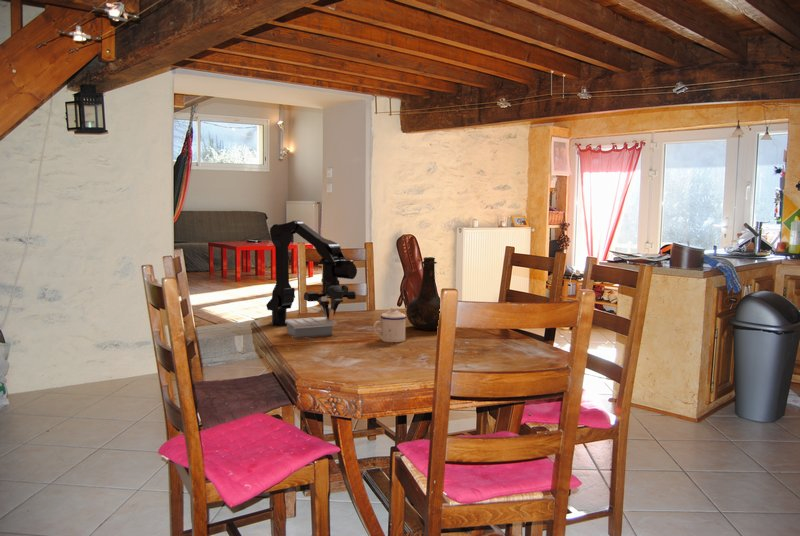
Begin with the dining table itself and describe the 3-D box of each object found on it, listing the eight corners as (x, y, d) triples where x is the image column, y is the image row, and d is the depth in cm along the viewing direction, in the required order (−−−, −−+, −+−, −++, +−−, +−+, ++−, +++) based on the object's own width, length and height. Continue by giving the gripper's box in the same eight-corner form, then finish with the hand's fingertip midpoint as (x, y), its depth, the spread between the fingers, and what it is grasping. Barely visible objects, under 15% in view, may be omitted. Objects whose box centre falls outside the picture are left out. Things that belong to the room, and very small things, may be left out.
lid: (285, 322, 236) (285, 309, 235) (326, 319, 243) (326, 306, 243) (294, 328, 226) (294, 314, 225) (337, 325, 233) (337, 311, 232)
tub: (286, 333, 236) (286, 322, 235) (322, 330, 242) (322, 320, 242) (295, 338, 227) (295, 327, 227) (332, 335, 233) (332, 324, 233)
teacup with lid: (399, 336, 234) (400, 305, 232) (409, 341, 225) (410, 309, 224) (369, 338, 229) (369, 306, 228) (377, 344, 221) (378, 311, 220)
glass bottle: (452, 333, 241) (454, 259, 238) (405, 332, 242) (407, 258, 239) (450, 324, 259) (451, 255, 256) (406, 323, 259) (407, 255, 257)
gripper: (313, 280, 225) (313, 324, 226) (362, 278, 233) (361, 320, 235) (303, 277, 235) (303, 318, 236) (350, 275, 243) (349, 315, 245)
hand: (329, 318), depth 238 cm, fingers closed on lid
